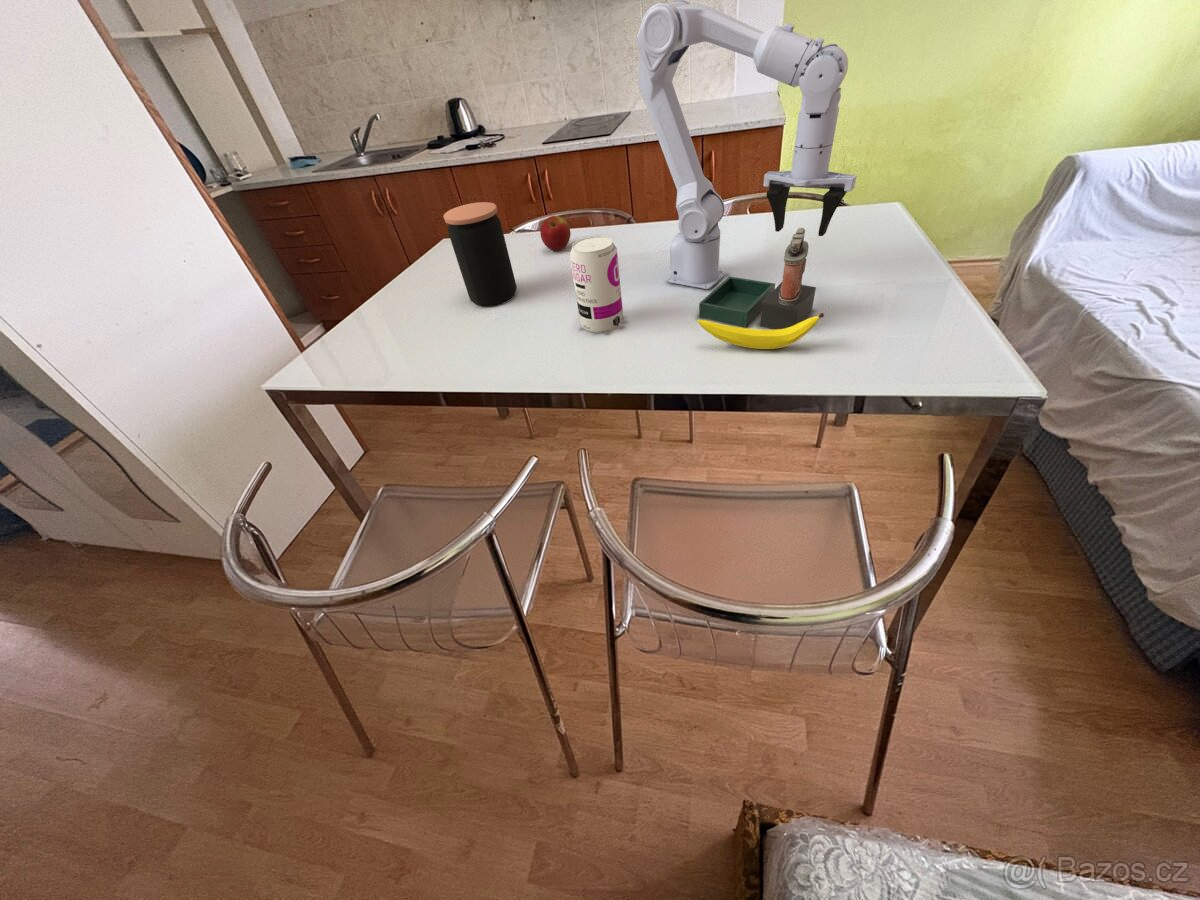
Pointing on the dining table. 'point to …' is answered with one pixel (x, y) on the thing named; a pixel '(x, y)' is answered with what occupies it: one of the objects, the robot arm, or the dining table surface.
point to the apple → (555, 233)
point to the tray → (735, 301)
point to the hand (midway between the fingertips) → (800, 231)
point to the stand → (786, 309)
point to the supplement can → (597, 283)
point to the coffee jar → (481, 253)
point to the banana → (759, 334)
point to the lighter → (793, 269)
